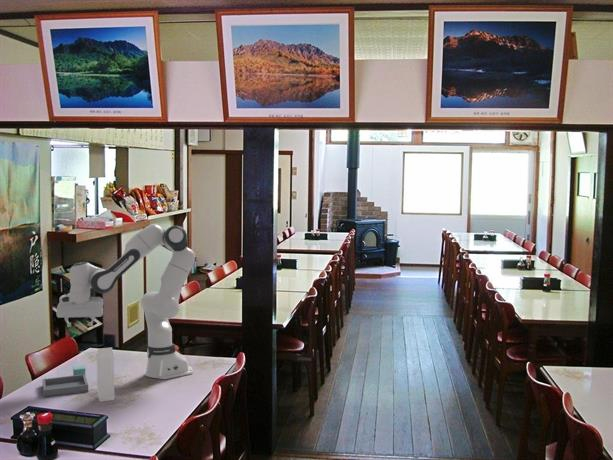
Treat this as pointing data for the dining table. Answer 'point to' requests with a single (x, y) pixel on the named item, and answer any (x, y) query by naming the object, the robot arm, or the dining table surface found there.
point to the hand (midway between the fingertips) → (79, 326)
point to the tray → (65, 385)
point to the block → (78, 370)
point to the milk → (105, 374)
